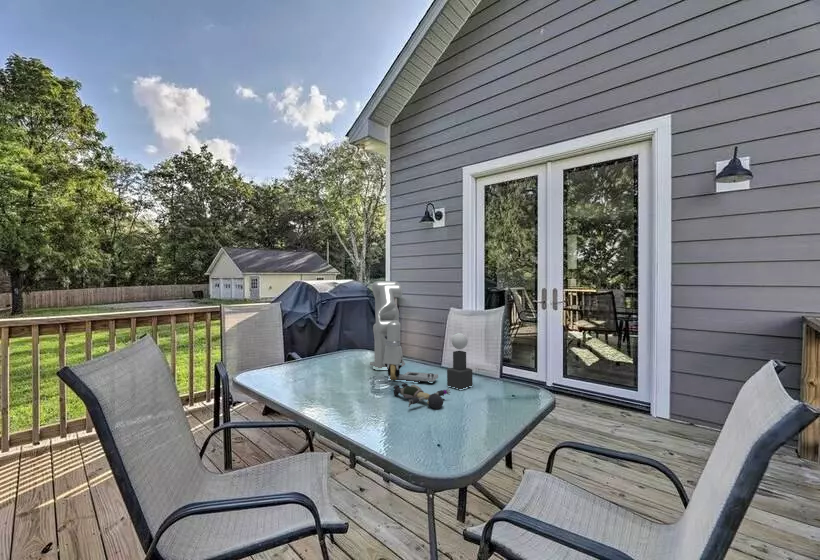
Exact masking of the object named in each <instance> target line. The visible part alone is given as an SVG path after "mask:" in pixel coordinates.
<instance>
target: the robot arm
mask: <svg viewBox="0 0 820 560" xmlns="http://www.w3.org/2000/svg"><path fill="white" fill-rule="evenodd" d="M371 289H372V295H373V296H374V301H375V302H374V305H375V307H374V309H375V311H374V313H375V315H374V316H375V323H374V324H373V326H372V331H373V332H372V333H373V337H374V361H369V366H372V367H373V366H375V367H378V368H382V367H387V369H388V370H387V375H388V376H387V377H390V364H393V365H396V368H397V369H396V377H398V376H399V374H401V373H400V369H401V368H402V367H404V366H405V365H406V362H405V360H404V356H403V348H402V346H401V325H402V324H401V322H400V312H399V308H398V307H397V306H396V303H395V298H401V297H402V296H403V287H402V285H401V283H399V282H398V281H397V280H377V281H374V282H373V283H372V285H371Z"/></svg>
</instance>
